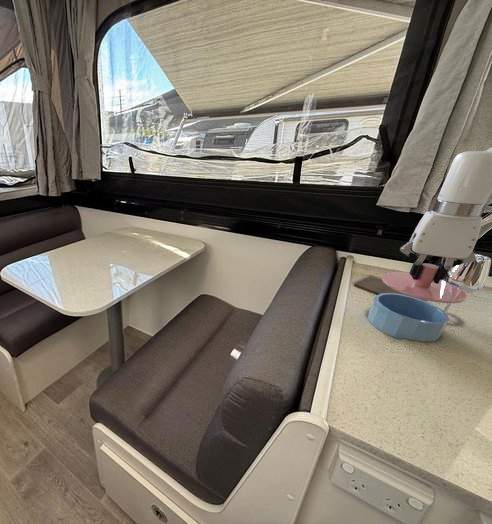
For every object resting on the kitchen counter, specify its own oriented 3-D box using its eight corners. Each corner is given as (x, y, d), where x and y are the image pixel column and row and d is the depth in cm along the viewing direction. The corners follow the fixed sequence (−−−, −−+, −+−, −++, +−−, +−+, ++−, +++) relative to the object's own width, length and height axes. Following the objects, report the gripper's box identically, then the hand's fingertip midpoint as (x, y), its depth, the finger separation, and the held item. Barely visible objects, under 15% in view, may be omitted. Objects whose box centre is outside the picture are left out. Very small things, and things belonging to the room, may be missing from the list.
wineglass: (459, 331, 73) (498, 265, 65) (420, 318, 78) (451, 255, 70) (461, 320, 77) (498, 256, 69) (424, 308, 83) (454, 248, 75)
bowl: (446, 333, 72) (458, 313, 70) (422, 351, 66) (434, 330, 64) (382, 306, 84) (390, 288, 82) (357, 320, 78) (364, 301, 76)
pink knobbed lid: (475, 294, 67) (488, 270, 64) (449, 312, 61) (463, 286, 58) (397, 270, 80) (405, 250, 77) (368, 283, 73) (377, 261, 71)
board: (426, 298, 89) (427, 295, 88) (410, 307, 84) (411, 305, 83) (371, 278, 102) (371, 276, 101) (353, 285, 97) (354, 283, 96)
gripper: (502, 209, 60) (464, 281, 68) (405, 202, 69) (380, 267, 76) (520, 216, 55) (476, 294, 62) (412, 208, 63) (385, 278, 70)
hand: (424, 278), depth 69 cm, fingers closed on pink knobbed lid, 3 cm apart
